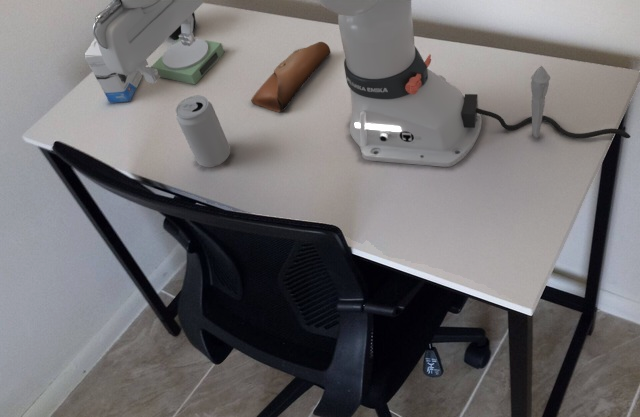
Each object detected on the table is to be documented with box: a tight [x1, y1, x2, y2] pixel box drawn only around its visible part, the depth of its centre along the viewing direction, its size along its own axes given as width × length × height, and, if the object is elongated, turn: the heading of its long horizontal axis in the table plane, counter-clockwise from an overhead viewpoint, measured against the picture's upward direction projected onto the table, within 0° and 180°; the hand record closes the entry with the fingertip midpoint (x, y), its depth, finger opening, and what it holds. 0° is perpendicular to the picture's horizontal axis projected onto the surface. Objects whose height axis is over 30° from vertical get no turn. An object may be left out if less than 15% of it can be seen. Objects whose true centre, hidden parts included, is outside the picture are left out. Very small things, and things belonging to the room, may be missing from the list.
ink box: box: [84, 38, 143, 104], centre depth 131 cm, size 8×5×12 cm, turn 171°
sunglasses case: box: [250, 41, 331, 113], centre depth 125 cm, size 18×7×7 cm, turn 149°
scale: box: [150, 37, 225, 85], centre depth 136 cm, size 11×11×3 cm
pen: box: [530, 65, 551, 139], centre depth 99 cm, size 2×3×14 cm
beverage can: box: [175, 95, 231, 168], centre depth 112 cm, size 6×6×12 cm
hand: (172, 61), depth 101 cm, fingers open, 8 cm apart
